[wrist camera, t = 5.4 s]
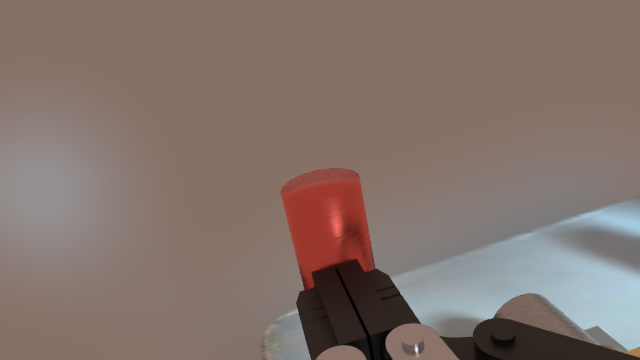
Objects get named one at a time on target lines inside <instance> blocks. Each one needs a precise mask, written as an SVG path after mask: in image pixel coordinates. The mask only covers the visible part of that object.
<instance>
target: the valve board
mask: <svg viewBox="0 0 640 360" xmlns="http://www.w3.org/2000/svg"><path fill="white" fill-rule="evenodd" d="M584 331H585V332H586V333H587V334H589V335H590V336H591V337H592V338H593V339H595V340H596V341H597V342H598V343H599V344H600V345H611V346H615V347H617V348H620V349H621V350H623V351H624V352H627V351H628V350H626V349H625V348H624V347H623V346H621V345H620V344H619V343H618V342H617V341H615V340H614V339H613V338H612V337H610V336H609V335H608V334H607V333H605V332H604V331H603V330H602V329H600V328H599V327H598V326H596V327H593V328H590V329H587V330H584Z"/></svg>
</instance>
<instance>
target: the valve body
mask: <svg viewBox="0 0 640 360" xmlns="http://www.w3.org/2000/svg"><path fill="white" fill-rule="evenodd" d="M494 318H505V319H510V320H514V321H517V322H521V323H524V324H528V325H531V326H534V327H538V328H541V329H545V330H548V331H551V332H555V333H558V334H562V335H565V336H568V337H572V338H575V339H579V340H582V341H585V342H589V343H592V344H596V345H599V346H602V347H606V348H609V349H613V350H616V351H619V352H623V353H626V354H630V355H633V356H636V357H640V347H638V348H636V349H633V350H630V351H627V352H624V351H623V350H621V349H620V348H617V347H615V346H611V345H600V344H599V343H598V342H597V341H596V340H595V339H593V338H592V337H591V336H590V335H589V334H587V333H586V332H585V331H584V330H583V329H582V328H580V327H579V326H578V325H577V324H576V323H575V322H573V321H572V320H571V319H570V318H569V317H567V316H566V315H565V314H564V313H563V312H562V311H560V310H559V309H558V308H557V307H556V306H554V305H553V304H552V303H551V302H550V301H549V300H547V299H546V298H545V297H543V296H541V295H538V294H523V295H520V296H517V297H515V298H513V299H511V300H509V301H508V302H507V303H505V304H504V305H503V306H502V307H501V308H500V309H499V310H498V311H497V313H496V314H495V316H494Z"/></svg>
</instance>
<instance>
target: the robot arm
mask: <svg viewBox="0 0 640 360" xmlns="http://www.w3.org/2000/svg"><path fill="white" fill-rule="evenodd" d="M311 273H312V278H313V282H314V286H315V287H314V288H310V289H307V290H304V291H301V292H300V293H299V296H298V299H297V302H296V304H297V308H298V312H299V316H300V320H301V323H302V327H303V331H304V335H305V339H306V342H307V346H308V350H309V353H310V357H311V360H640V357H636V356H633V355H630V354H626V353H623V352H619V351H616V350H613V349H609V348H606V347H602V346H599V345H596V344H592V343H589V342H585V341H582V340H579V339H575V338H572V337H568V336H565V335H562V334H558V333H555V332H551V331H548V330H545V329H541V328H538V327H534V326H531V325H528V324H524V323H521V322H517V321H514V320H510V319H505V318H492V319H488V320H485V321H483V322H481V323H480V324H478V325H477V326H476V328H475V330H474V332H473V337H460V338H448V337H442V336H439V335H438V334H437V333H436V332H435V331H434V330H433V329H431V328H430V327H428V326H425V325H422V324H421V323H420V322H419V320H418V319H417V317H416V316H415V314H414V313H413V311H412V310H411V308H410V307H409V305H408V304H407V302H406V301H405V299H404V298H403V296H402V295H401V294H400V292H399V290H398V289H397V287H395V285H394V283H393V282H392V280H391V279H390V277H389V276H388V275H387V274H385V273H383V272H381V271H379V270H378V269H374V270H371V271H367V272H364V270H363V268H362V266H361V265H360V263H359V261H358V260H357V259H353V260H350V261H346V262H343V263H339V264H336V265H335V268H334V266H329V267H326V268H322V269H319V270H316V271H312V272H311Z"/></svg>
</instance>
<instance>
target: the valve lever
mask: <svg viewBox="0 0 640 360" xmlns="http://www.w3.org/2000/svg"><path fill="white" fill-rule="evenodd" d="M281 197H282V201H283V204H284V209H285V213H286V217H287V221H288V225H289V229H290V232H291V237H292V241H293V245H294V249H295V253H296V257H297V261H298V265H299V269H300V273H301V277H302V281H303V285H304V289H305V290H307V289H310V288H314V287H315V286H314V282H313V278H312V273H311V272H312V271H316V270H319V269H322V268H326V267H329V266H334V268H335V265H336V264H339V263H343V262H346V261H350V260H353V259H357V260H358V261H359V263H360V265H361V266H362V268H363V270H364V272H367V271H371V270H374V269H375V264H374V258H373V254H372V247H371V241H370V236H369V229H368V224H367V218H366V212H365V206H364V201H363V195H362V189H361V183H360V177H359V175H358V174H357V173H356V172H354V171H352V170H349V169H342V168H333V169H332V168H331V169H322V170H317V171H312V172H309V173H306V174H303V175H300V176H298V177H296V178H294V179H292V180H290V181H289V182H287V183H286V184H285V185H284V186H283V187H282V189H281Z"/></svg>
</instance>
